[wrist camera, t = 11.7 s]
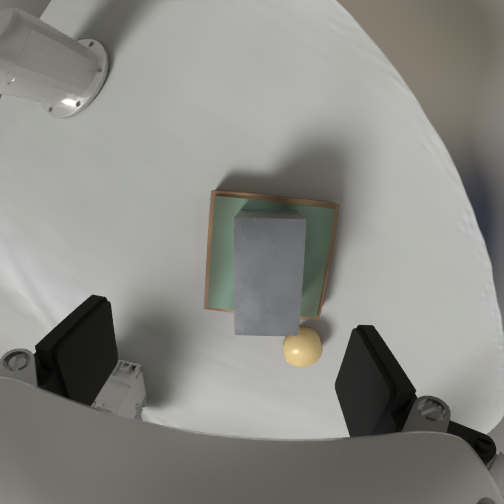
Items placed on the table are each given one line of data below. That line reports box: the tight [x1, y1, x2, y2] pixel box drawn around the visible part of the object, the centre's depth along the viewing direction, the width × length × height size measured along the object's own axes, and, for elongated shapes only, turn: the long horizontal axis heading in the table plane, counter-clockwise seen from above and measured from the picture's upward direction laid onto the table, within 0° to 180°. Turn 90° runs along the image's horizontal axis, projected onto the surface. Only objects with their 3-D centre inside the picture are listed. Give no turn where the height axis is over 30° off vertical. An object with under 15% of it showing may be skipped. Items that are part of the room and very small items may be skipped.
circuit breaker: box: [91, 359, 147, 421], centre depth 35 cm, size 8×14×15 cm, turn 175°
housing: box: [234, 209, 306, 336], centre depth 29 cm, size 11×6×7 cm, turn 179°
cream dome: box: [284, 327, 323, 367], centre depth 37 cm, size 5×5×2 cm
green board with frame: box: [204, 190, 339, 320], centre depth 33 cm, size 14×14×3 cm
